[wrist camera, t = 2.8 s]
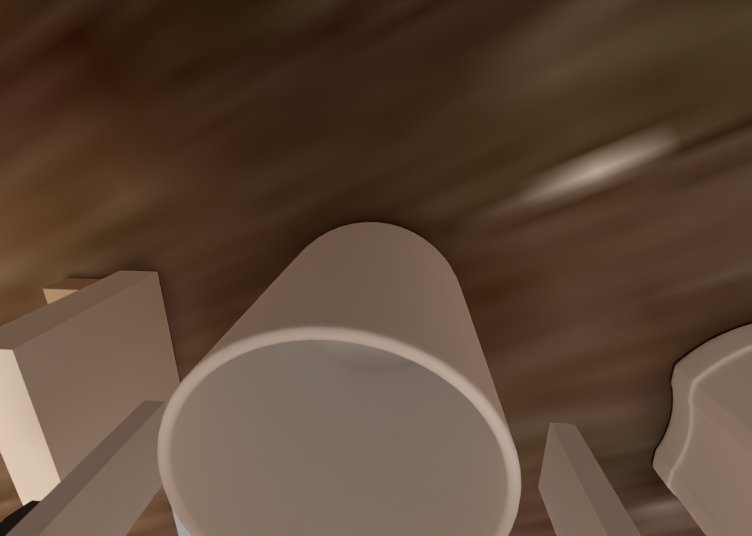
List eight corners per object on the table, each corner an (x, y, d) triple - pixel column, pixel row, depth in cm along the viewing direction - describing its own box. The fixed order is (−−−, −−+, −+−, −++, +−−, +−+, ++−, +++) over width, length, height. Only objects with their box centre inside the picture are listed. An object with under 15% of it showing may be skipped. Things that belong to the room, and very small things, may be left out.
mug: (292, 416, 22) (191, 659, 12) (287, 210, 18) (126, 310, 8) (441, 432, 21) (471, 700, 11) (472, 224, 17) (561, 349, 7)
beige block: (66, 268, 20) (-126, 343, 13) (157, 271, 19) (12, 349, 12) (114, 436, 23) (-13, 566, 16) (192, 441, 23) (95, 577, 16)
